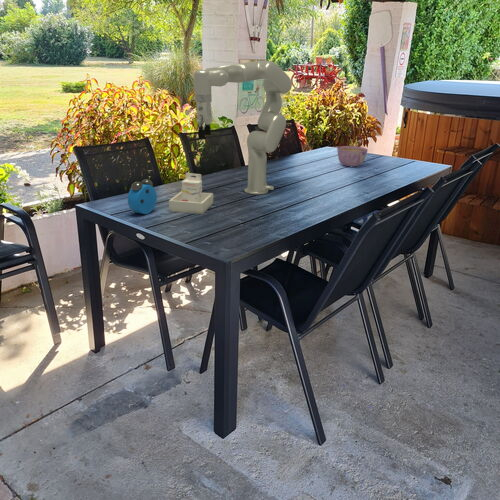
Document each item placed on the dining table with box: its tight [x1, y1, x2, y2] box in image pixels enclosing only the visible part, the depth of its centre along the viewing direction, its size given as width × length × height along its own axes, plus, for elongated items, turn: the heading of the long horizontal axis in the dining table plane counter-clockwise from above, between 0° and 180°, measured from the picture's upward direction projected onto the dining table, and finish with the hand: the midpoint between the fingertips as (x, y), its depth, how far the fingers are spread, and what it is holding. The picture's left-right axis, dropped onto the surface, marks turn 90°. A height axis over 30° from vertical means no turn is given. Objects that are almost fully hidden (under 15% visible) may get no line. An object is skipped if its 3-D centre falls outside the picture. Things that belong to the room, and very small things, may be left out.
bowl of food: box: [336, 145, 369, 167], centre depth 331 cm, size 20×20×12 cm
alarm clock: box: [127, 178, 158, 215], centre depth 222 cm, size 13×6×15 cm, turn 151°
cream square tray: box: [168, 190, 214, 215], centre depth 234 cm, size 16×18×5 cm
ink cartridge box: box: [181, 172, 203, 203], centre depth 232 cm, size 9×5×15 cm, turn 73°
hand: (204, 136), depth 234 cm, fingers open, 9 cm apart
